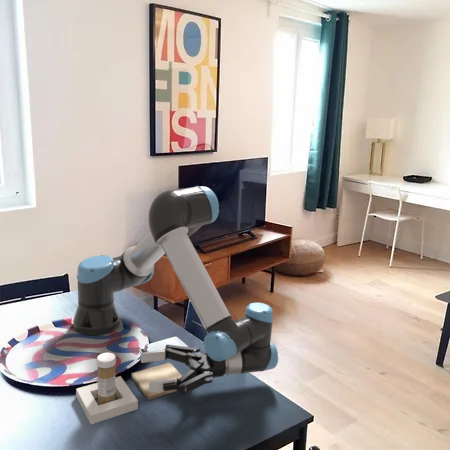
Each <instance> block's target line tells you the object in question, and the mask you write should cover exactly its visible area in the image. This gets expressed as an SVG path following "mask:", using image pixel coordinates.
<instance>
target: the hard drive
mask: <svg viewBox="0 0 450 450" xmlns="http://www.w3.org/2000/svg"><path fill="white" fill-rule="evenodd" d="M147 344H148V348H147V352H151V351H158V350H164V349H165V347H166V345H167V344H168V345H176V346H184V347H189V346H188V345H187V344H186V343H185V342H184V341H182V340H181V339H180V338H179V337H177V336H173V337H169V338H166V339H162V340H158V341H155V342H152V343H147ZM170 349H171V348H170Z"/></svg>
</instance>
